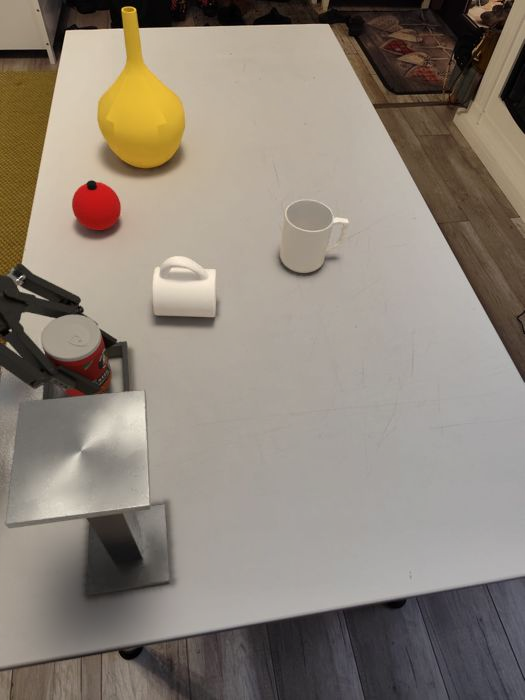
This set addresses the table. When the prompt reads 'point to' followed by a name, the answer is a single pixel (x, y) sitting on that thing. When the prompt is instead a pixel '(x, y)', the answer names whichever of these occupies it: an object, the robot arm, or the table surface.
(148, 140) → the vase
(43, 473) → the steel stand
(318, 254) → the mug
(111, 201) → the ornament
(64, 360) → the canned food
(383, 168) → the table surface
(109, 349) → the grey square frame
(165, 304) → the mug
